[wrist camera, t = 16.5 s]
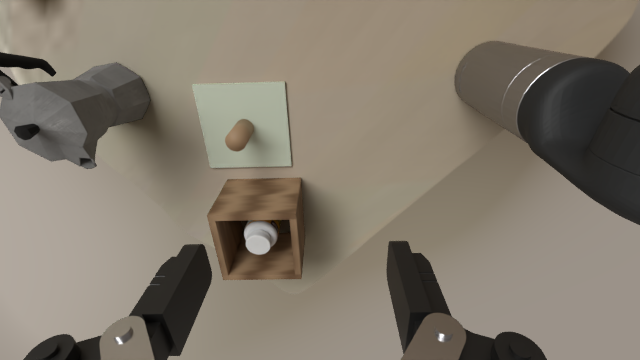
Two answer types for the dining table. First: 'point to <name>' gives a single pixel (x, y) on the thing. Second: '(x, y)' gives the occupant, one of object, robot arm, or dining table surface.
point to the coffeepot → (69, 108)
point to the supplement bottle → (261, 235)
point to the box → (258, 204)
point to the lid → (244, 124)
